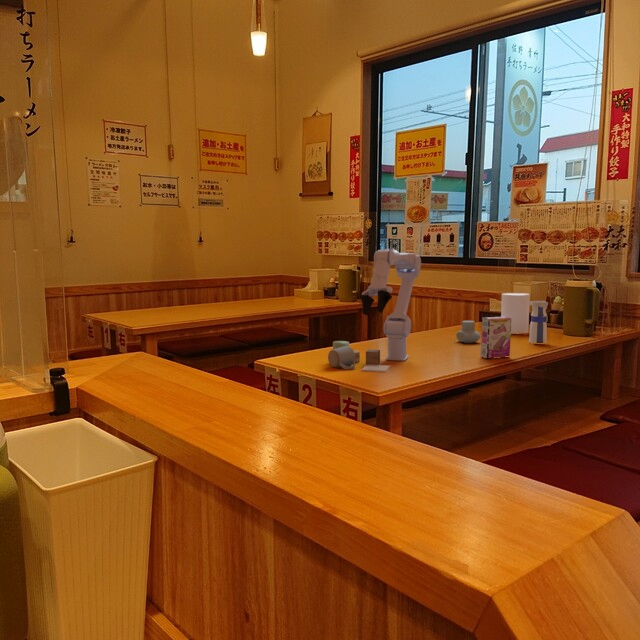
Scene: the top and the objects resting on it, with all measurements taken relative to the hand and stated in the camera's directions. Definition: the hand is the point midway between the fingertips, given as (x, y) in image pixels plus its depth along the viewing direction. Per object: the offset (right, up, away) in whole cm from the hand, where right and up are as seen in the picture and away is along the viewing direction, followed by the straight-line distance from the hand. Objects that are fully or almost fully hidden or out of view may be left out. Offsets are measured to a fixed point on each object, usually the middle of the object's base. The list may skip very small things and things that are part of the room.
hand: (372, 313), depth 216 cm
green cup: (-11, -19, +19) cm, 29 cm away
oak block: (-6, -19, +20) cm, 29 cm away
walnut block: (+1, -20, +14) cm, 24 cm away
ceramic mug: (-10, -21, +9) cm, 25 cm away
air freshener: (+50, -13, +62) cm, 81 cm away
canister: (+81, -9, +90) cm, 121 cm away
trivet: (+2, -21, +5) cm, 22 cm away
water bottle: (+81, -13, +57) cm, 100 cm away
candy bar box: (+52, -18, +25) cm, 61 cm away
